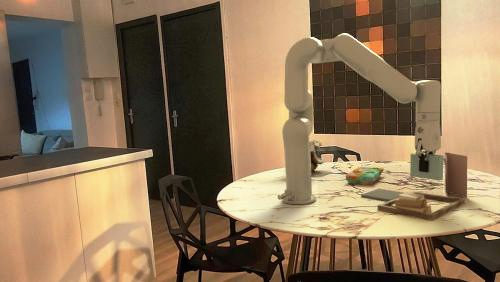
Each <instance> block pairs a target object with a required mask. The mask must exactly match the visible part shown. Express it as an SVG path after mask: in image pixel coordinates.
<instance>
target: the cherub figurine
mask: <svg viewBox="0 0 500 282" xmlns="http://www.w3.org/2000/svg"><path fill="white" fill-rule="evenodd" d="M309 143H310V158H311V178H322V177H325V176H328V175H330V174H333V172H332V171H323V170H317V168H318V166H319V165H322V164H324V162H325V161H324V159H323V158H321V157H317V154H316V149H320V147H322V146H323V144H322V142H321V141H320V140H318V139H312V140H311V141H309Z"/></svg>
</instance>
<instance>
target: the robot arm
mask: <svg viewBox="0 0 500 282" xmlns="http://www.w3.org/2000/svg"><path fill="white" fill-rule="evenodd" d="M331 62H343V63H344V64H345V65H347V66H348V67H349V68H351V69H352V70H353V71H355V72H356V73H358V75H360V77H362V78H364V79H365V80H366V81H369V82H371V83H373V84H374V85H376V86H378V88H380V89H381V90H382V91H384V92H385V93H386V94H388V95H389V96H390V97H392V98H393V99H394V100H395V101H396V102H398V103H400V104H409V103H411V102H415V122H416V123H415V132H414V149H415V153H416V154H417V155H418V160H419V171H420V172H429V161H427V160H428V154H434V155H436V153H437V151H439V150H440V149H441V147H442V135H441V132H442V131H441V123H440V122H441V89H442V87H441V86H442V85H441V82H440V81H439V80H435V79H433V80H419V81H412V80H410V79H409V78H408V77H407V76H405V75H404V74H403V73H401V72H400V71H399V70H397V69H395V68H394V67H393V66H391V65H390V64H389V63H387V62H386V61H385V59H383V58H382V57H381V56H379V55H378V54H376V53H375V52H373V50H370V49H369V48H368V47H367V46H365V45H364V44H363V43H362V42H360V41H358V40H357V39H356V38H354V37H353V36H352V35H350V34H349V33H341V34H338V35H337V36H335V37H334V38H327V39H317V38H315V37H310V36H309V37H303V38H302V39H299V40H298V41H296V42H295V43H294V44H293V45H292V46H291V47H290V48H289V50H288V51H287V54H286V57H285V61H284V98H283V99H284V101H283V102H284V106H285V108H286V109H287V110H288V119H287V120H285V122H284V124H283V126H282V131H281V132H282V139H283V140H282V141H283V148H284V149H283V150H284V163H285V164H284V165H285V167H284V168H285V184H286V185H285V186H286V187H285V188H286V189H284V192H283V193H280V194H278V195H277V199H278V200H279V201H280V200H281V201H283V202H284V203H286V204H290V205H306V204H307V205H308V204H312V203H314V202H316V201H317V196H316V195H315V194H313V189H312V188H313V186H312V177H311V158H310V143H309V142H310V136H311V134H312V133H313V129H314V98H313V95H312V92H311V91H310V90H309V65H310V64H322V63H324V64H325V63H331ZM424 154H425V155H424Z"/></svg>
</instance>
